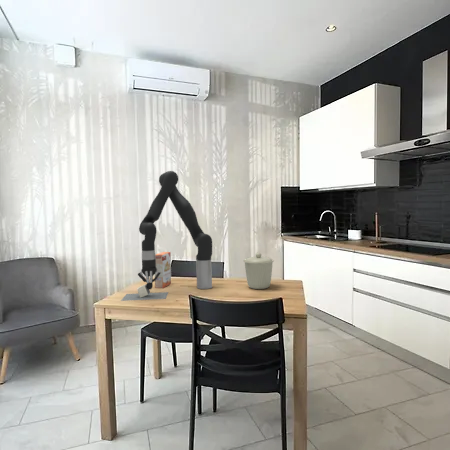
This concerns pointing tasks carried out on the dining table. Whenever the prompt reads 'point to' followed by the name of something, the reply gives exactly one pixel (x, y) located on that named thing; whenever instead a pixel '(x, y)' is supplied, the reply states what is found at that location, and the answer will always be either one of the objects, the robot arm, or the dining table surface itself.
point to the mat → (148, 297)
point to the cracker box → (163, 269)
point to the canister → (258, 271)
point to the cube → (143, 290)
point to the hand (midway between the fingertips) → (149, 289)
